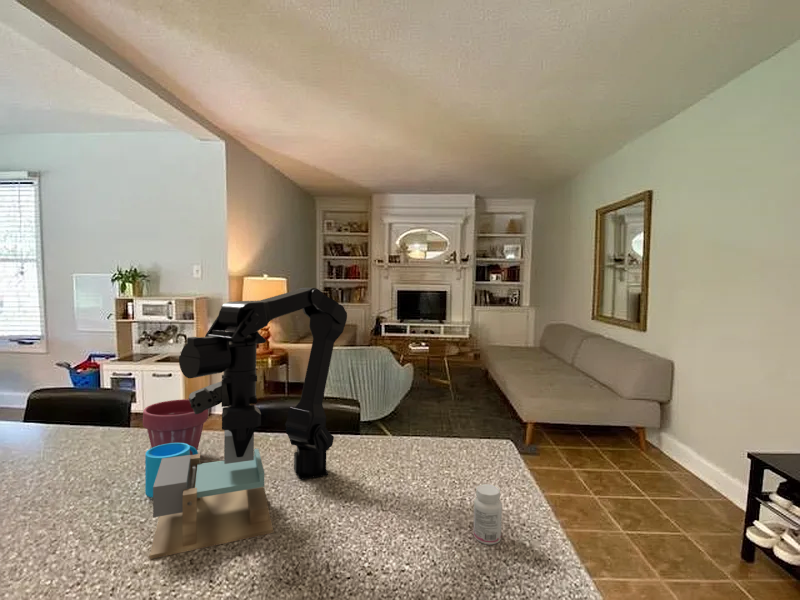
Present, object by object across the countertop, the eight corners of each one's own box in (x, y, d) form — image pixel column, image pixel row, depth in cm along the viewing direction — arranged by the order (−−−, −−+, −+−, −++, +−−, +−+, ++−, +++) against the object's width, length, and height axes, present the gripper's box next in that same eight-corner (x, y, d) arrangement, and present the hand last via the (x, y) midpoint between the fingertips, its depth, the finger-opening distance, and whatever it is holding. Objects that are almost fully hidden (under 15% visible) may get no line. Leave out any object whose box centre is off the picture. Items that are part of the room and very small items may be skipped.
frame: (262, 486, 89) (262, 444, 88) (273, 532, 72) (273, 481, 72) (163, 503, 81) (163, 457, 81) (149, 559, 65) (149, 502, 64)
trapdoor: (258, 470, 85) (258, 446, 85) (264, 497, 74) (264, 470, 74) (162, 484, 78) (161, 458, 78) (153, 517, 67) (153, 487, 67)
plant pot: (219, 455, 104) (220, 404, 104) (163, 476, 93) (163, 419, 92) (187, 442, 112) (187, 395, 112) (131, 460, 100) (131, 408, 100)
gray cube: (251, 450, 82) (252, 424, 81) (253, 460, 77) (253, 433, 77) (224, 453, 80) (224, 427, 80) (224, 464, 75) (224, 436, 75)
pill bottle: (481, 525, 76) (482, 480, 75) (505, 536, 73) (507, 488, 72) (468, 537, 72) (469, 489, 72) (493, 549, 69) (494, 499, 69)
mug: (167, 501, 82) (167, 460, 82) (135, 494, 85) (135, 454, 84) (211, 475, 94) (211, 439, 93) (182, 469, 96) (183, 434, 96)
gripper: (195, 362, 83) (194, 439, 84) (188, 382, 66) (187, 479, 67) (254, 359, 88) (253, 433, 88) (261, 378, 71) (260, 469, 71)
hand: (239, 451), depth 78 cm, fingers closed on gray cube, 5 cm apart
